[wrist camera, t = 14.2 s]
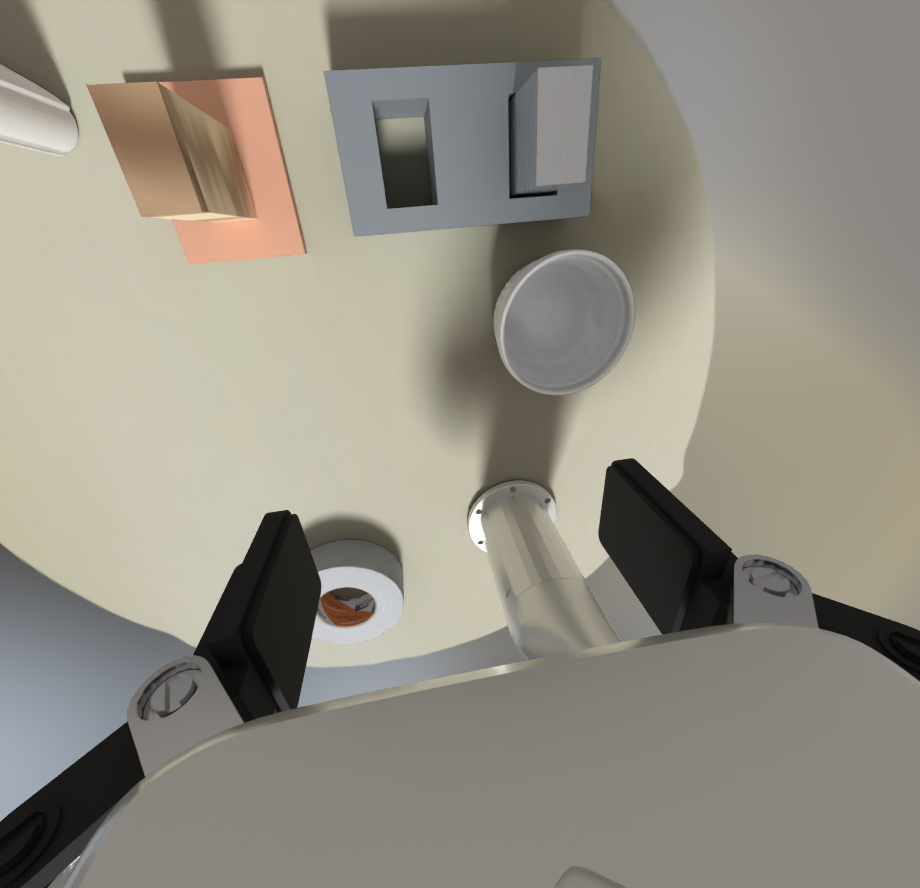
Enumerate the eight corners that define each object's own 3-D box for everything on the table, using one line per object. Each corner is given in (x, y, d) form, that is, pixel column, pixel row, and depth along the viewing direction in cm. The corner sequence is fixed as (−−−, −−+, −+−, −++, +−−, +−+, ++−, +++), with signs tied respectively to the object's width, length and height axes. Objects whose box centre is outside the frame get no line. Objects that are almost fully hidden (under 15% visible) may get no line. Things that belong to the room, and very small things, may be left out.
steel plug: (534, 196, 36) (585, 182, 27) (498, 199, 36) (536, 185, 26) (535, 114, 33) (593, 65, 24) (496, 116, 33) (538, 67, 23)
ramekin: (520, 222, 37) (544, 219, 31) (624, 281, 41) (664, 288, 35) (464, 349, 42) (475, 368, 36) (562, 390, 46) (588, 413, 40)
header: (566, 218, 37) (589, 215, 33) (359, 236, 35) (354, 236, 31) (573, 81, 33) (601, 57, 28) (333, 94, 31) (323, 70, 26)
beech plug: (257, 218, 33) (201, 211, 23) (215, 222, 33) (141, 216, 23) (232, 130, 30) (156, 81, 21) (185, 133, 30) (86, 85, 20)
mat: (306, 253, 36) (305, 253, 35) (193, 263, 35) (189, 264, 34) (264, 80, 30) (261, 77, 29) (127, 87, 29) (120, 83, 28)
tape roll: (411, 603, 60) (413, 632, 55) (312, 623, 59) (306, 655, 54) (391, 528, 52) (391, 555, 48) (277, 550, 51) (266, 580, 47)
